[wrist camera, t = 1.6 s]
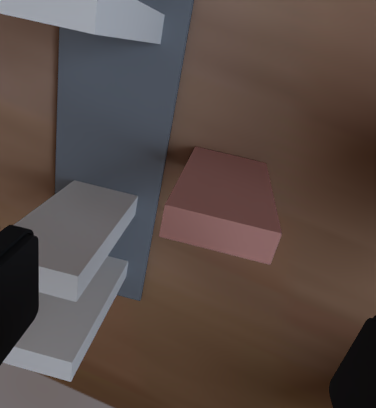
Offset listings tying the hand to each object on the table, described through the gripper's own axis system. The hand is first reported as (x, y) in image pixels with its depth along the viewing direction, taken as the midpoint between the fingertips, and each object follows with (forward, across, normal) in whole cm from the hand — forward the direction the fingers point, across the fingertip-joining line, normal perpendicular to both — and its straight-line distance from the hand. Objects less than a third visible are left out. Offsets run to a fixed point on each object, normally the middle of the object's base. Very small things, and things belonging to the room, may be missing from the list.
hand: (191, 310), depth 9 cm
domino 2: (+15, +8, +5) cm, 17 cm away
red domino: (+15, -1, 0) cm, 15 cm away
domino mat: (+15, +8, -1) cm, 17 cm away
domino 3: (+15, +8, +11) cm, 20 cm away
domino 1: (+15, +8, -7) cm, 18 cm away
